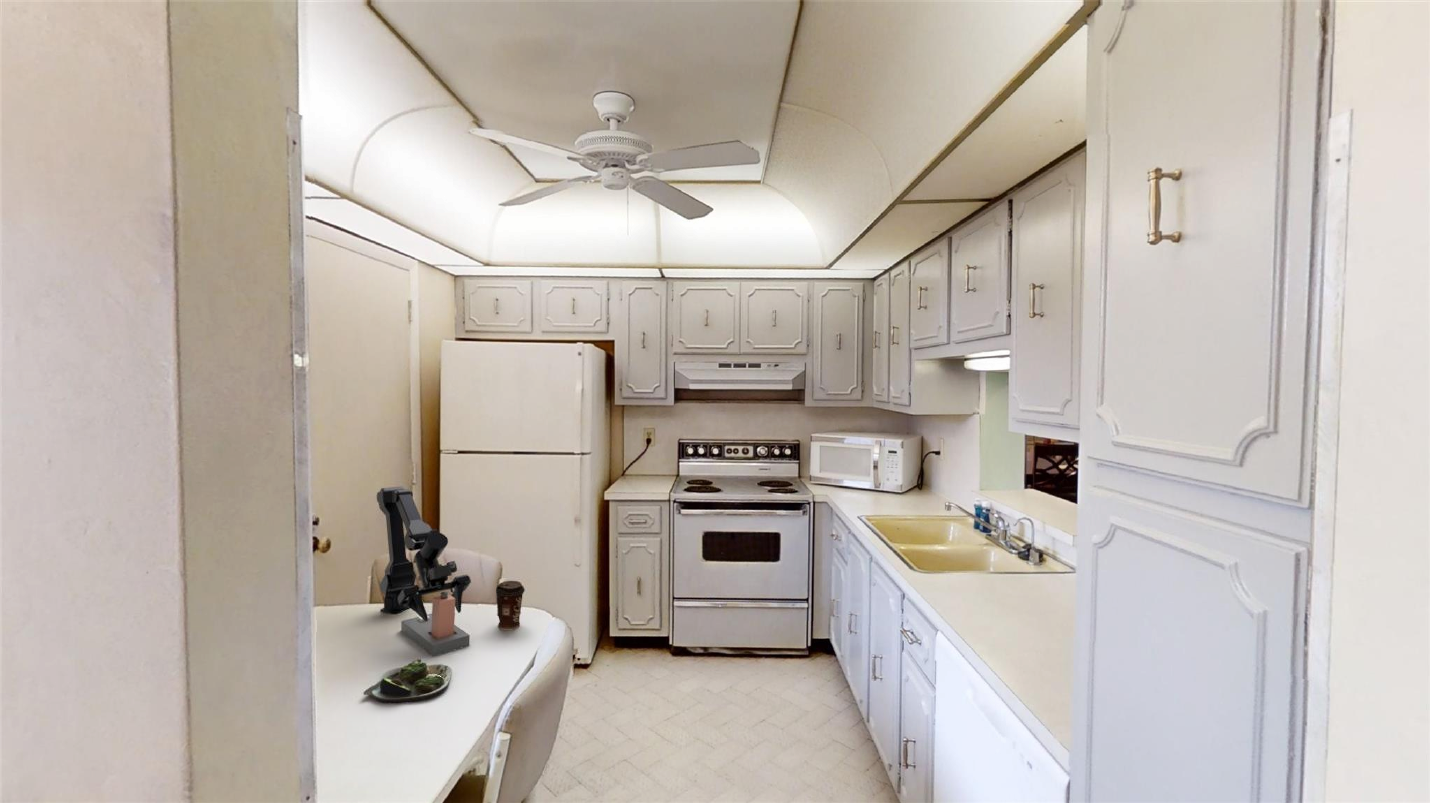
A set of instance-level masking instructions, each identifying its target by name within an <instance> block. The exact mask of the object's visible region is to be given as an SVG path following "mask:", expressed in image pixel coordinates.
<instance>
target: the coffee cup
mask: <svg viewBox="0 0 1430 803" xmlns="http://www.w3.org/2000/svg"><path fill="white" fill-rule="evenodd" d="M525 591H526V590H525V587H524V586H523V584H522V582H520V581H517V580H505V581H502V582H500V583H498V585H497V586H496V588H495V592H496V593H495V594H496V608H497V609H496V610H497V611H496V612H497V613H496V614H497V615H496V616H498V621H499V622H498V624H497V628H498V629H500V630H502V631H512V630H516V629H518V628H520V624H521V622H520V616H521V610H522V602H523V601H522V600H523V595H524V593H525Z"/></svg>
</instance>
